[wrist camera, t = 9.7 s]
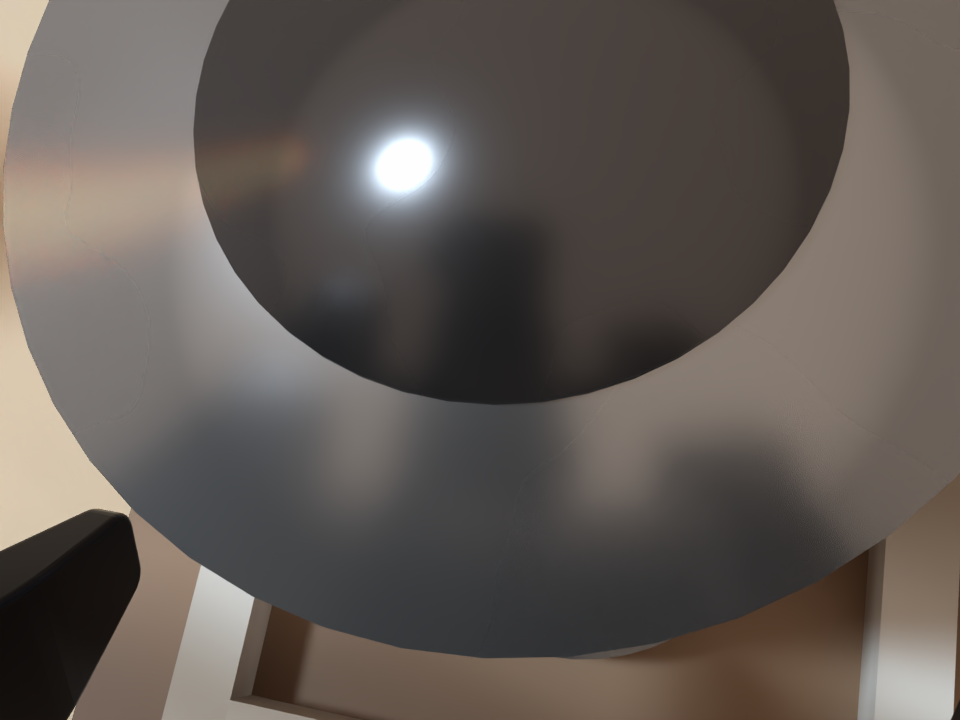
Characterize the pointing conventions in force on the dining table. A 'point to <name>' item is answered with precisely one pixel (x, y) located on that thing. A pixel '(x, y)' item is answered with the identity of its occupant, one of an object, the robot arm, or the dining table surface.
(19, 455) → the dining table surface
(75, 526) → the robot arm
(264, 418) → the silver metal cup
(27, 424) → the dining table surface
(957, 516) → the bronze base
